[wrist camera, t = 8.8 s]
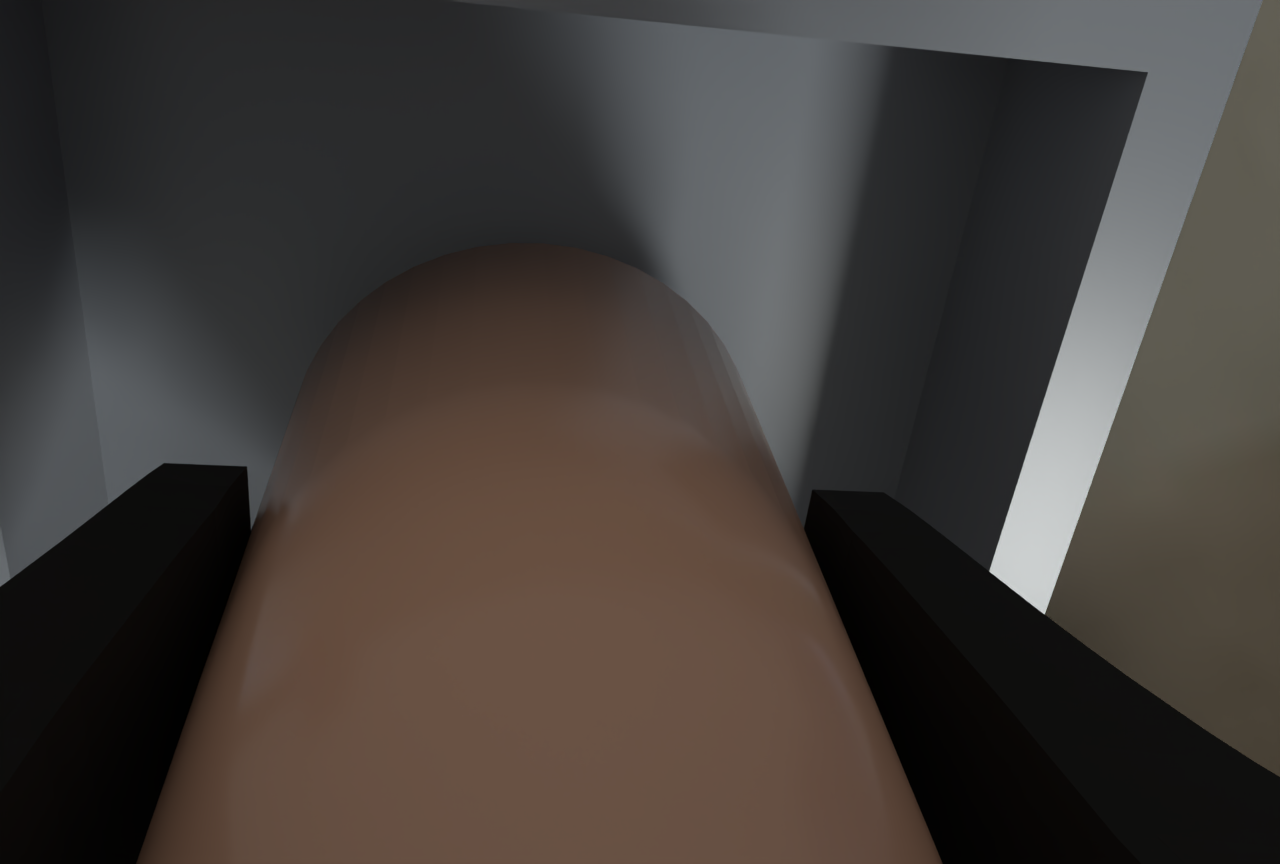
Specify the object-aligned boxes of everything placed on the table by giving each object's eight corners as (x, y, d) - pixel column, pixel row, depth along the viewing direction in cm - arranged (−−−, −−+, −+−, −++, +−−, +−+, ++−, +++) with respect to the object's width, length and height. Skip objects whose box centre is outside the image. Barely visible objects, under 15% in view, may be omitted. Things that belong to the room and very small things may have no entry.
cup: (788, 260, 10) (1227, 965, 4) (717, 645, 12) (934, 1493, 6) (282, 224, 9) (-124, 997, 3) (298, 636, 12) (68, 1574, 5)
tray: (1082, -61, 11) (1269, -18, 8) (866, 724, 15) (938, 911, 13) (-47, -197, 9) (-261, -197, 7) (95, 718, 14) (2, 926, 11)
